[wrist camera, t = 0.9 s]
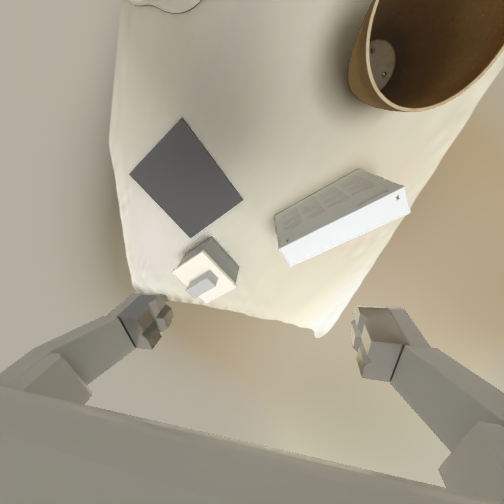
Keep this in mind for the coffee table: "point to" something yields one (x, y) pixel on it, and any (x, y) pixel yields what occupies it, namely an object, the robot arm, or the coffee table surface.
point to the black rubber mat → (186, 180)
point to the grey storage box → (215, 257)
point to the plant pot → (424, 51)
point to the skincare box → (338, 215)
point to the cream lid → (204, 277)
